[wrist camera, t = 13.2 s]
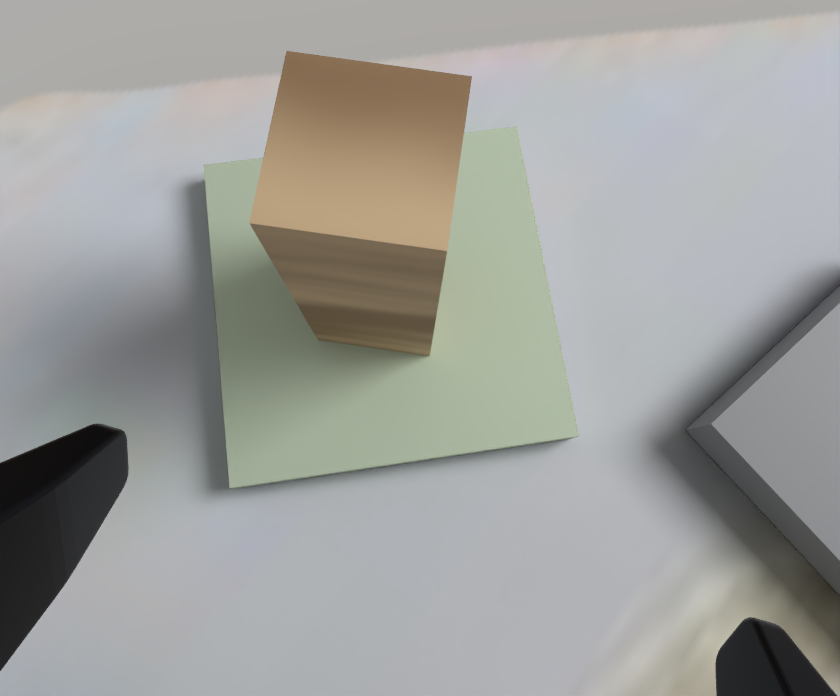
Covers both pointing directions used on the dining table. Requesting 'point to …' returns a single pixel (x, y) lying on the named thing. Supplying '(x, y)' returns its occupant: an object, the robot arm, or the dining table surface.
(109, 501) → the robot arm
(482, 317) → the sage mat
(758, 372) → the grey block
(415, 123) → the oak block
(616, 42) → the dining table surface
